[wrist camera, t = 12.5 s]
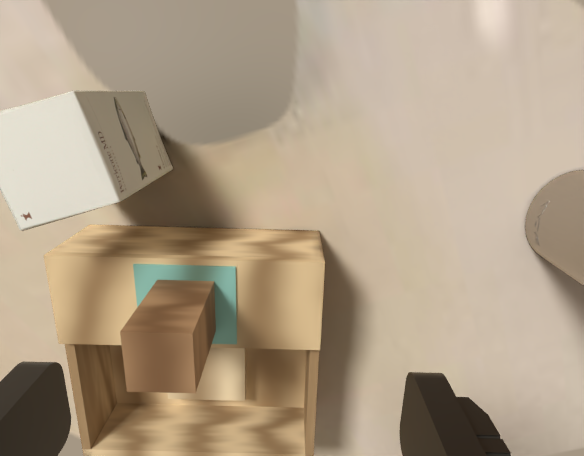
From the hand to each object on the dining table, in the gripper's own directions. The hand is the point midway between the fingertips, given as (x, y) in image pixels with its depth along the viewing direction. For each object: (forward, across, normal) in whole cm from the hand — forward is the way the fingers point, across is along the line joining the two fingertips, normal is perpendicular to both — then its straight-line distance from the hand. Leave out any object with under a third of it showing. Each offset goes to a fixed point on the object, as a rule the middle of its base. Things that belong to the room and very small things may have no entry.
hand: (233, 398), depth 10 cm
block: (+22, +7, +10) cm, 25 cm away
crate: (+30, +7, +16) cm, 35 cm away
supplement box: (+30, +14, -2) cm, 33 cm away
